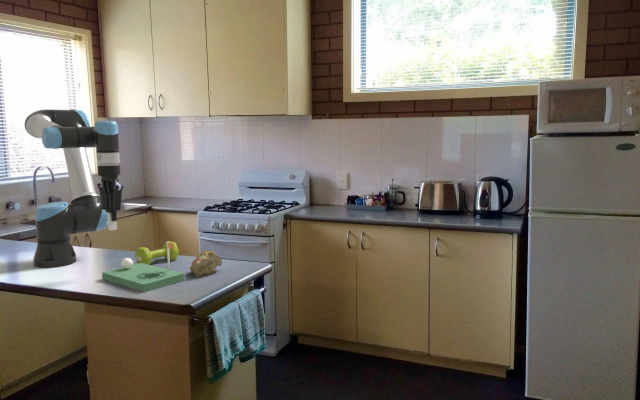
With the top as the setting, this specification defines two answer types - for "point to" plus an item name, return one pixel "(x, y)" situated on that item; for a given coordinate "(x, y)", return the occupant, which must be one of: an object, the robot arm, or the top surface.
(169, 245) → the flag
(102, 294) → the top surface
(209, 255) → the rock
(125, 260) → the ball
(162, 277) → the mat
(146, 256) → the dumbbell
